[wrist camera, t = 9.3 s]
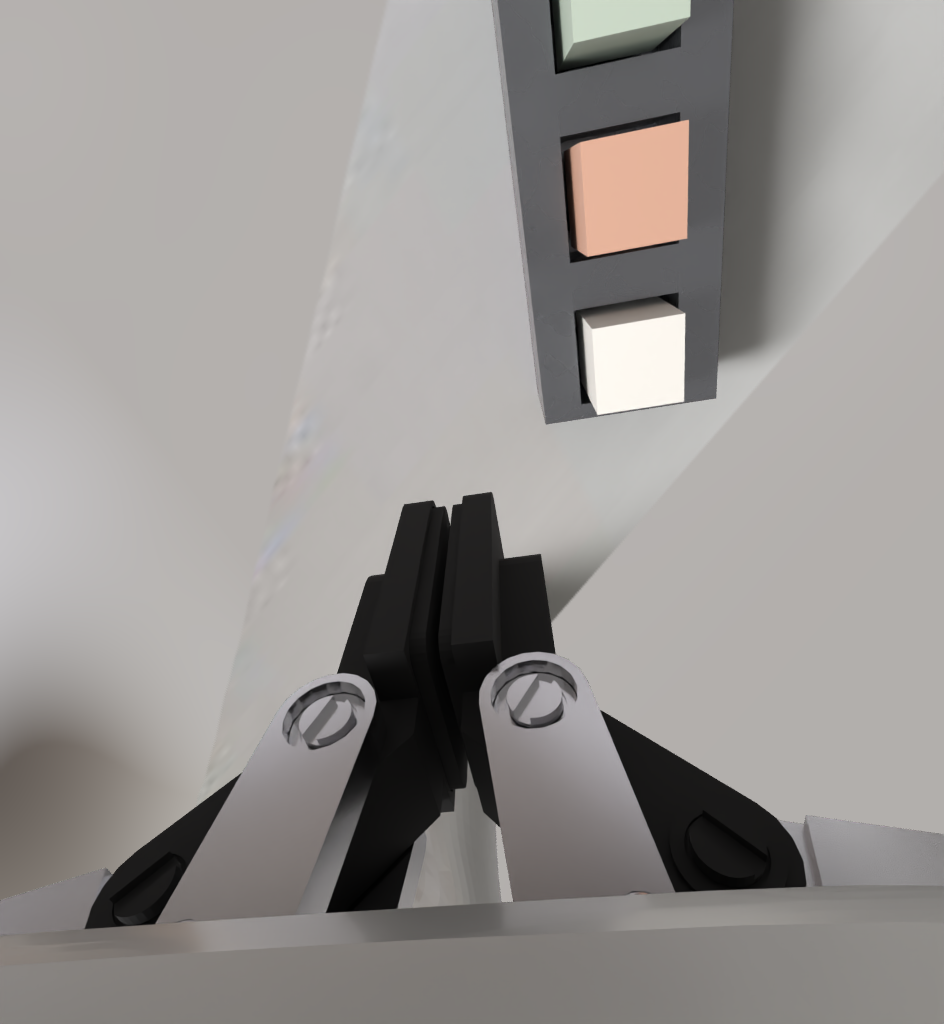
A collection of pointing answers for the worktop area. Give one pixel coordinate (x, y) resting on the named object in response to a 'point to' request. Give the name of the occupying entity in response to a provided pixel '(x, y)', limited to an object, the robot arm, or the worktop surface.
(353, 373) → the worktop surface
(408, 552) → the robot arm
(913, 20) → the worktop surface
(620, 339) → the ivory key
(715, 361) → the grey socket block
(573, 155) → the peach key
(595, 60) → the pale green block
